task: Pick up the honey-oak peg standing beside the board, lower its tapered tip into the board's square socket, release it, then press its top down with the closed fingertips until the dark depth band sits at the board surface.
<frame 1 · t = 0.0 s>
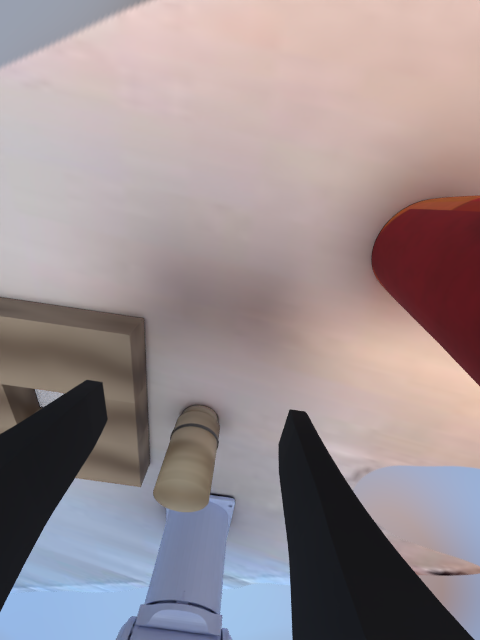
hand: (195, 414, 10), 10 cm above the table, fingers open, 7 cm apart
coffee cup: (419, 248, 17), on the table
board: (61, 391, 24), on the table
peg: (200, 418, 25), on the table
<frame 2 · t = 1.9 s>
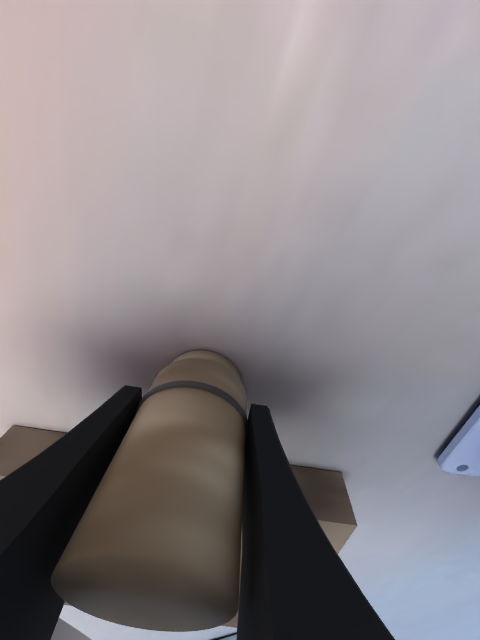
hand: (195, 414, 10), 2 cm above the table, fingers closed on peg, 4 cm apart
skincare box: (251, 638, 29), on the table
board: (175, 524, 18), on the table
peg: (204, 381, 12), on the table, touching gripper
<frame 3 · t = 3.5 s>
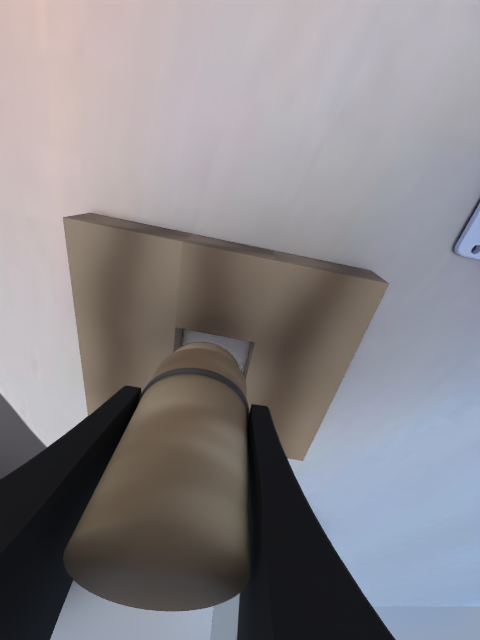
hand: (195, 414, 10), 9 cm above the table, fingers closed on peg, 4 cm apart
skincare box: (262, 515, 31), on the table
board: (215, 346, 20), on the table
peg: (203, 373, 12), point 7 cm above the table, touching gripper
when the fingers open (4 cm above the table, at t = 5.3 s): peg drops 1 cm, resting in board.
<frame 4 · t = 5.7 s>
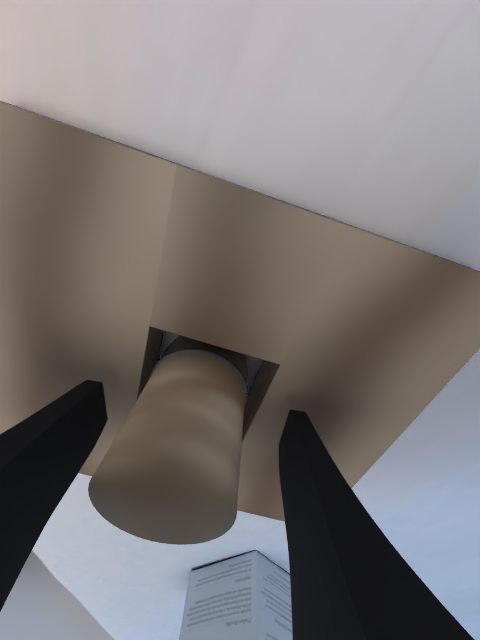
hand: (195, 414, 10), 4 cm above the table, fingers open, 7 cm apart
skincare box: (241, 568, 25), on the table
board: (209, 359, 13), on the table
peg: (208, 356, 13), resting in board
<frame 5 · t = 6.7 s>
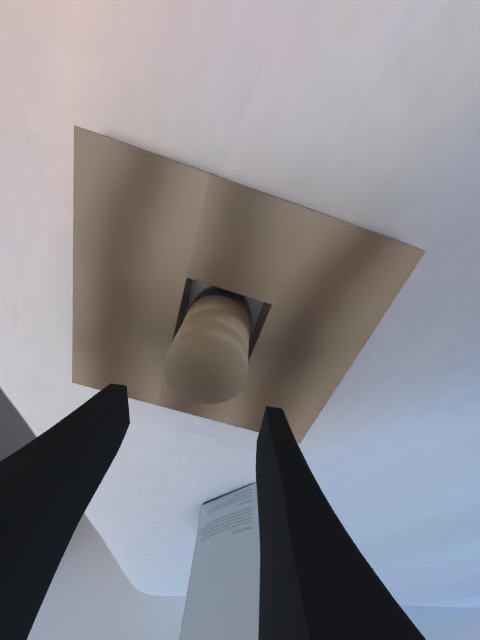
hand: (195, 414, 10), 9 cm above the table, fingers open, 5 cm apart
skincare box: (243, 503, 30), on the table
board: (222, 311, 18), on the table
peg: (221, 308, 18), resting in board
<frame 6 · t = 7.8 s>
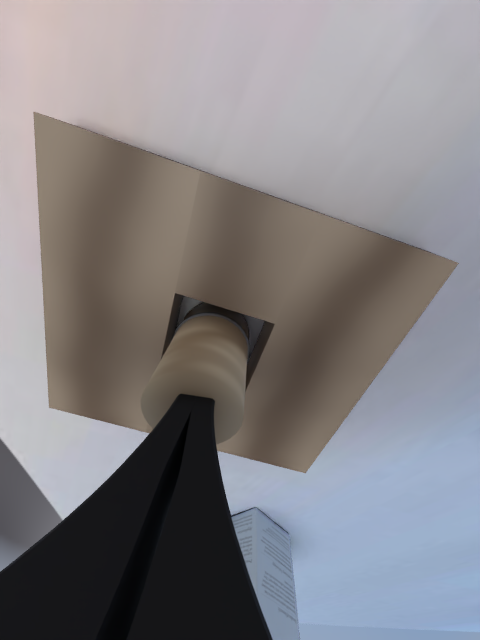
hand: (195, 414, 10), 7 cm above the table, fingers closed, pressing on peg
skincare box: (243, 527, 28), on the table
board: (218, 327, 16), on the table
peg: (217, 325, 16), resting in board, touching gripper
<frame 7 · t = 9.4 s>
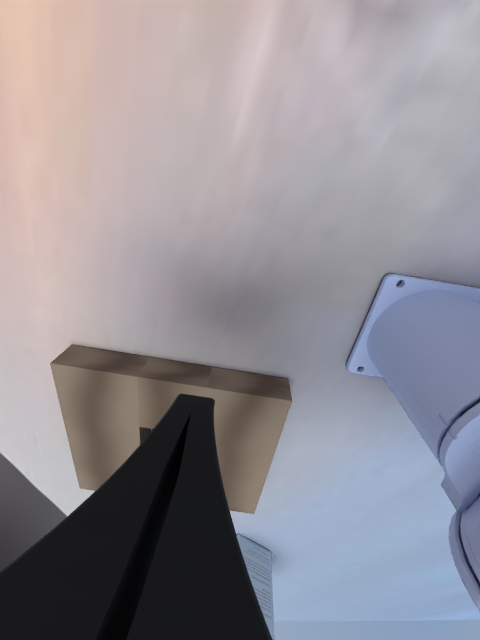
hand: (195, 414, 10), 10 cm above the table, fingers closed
skincare box: (235, 548, 36), on the table
board: (177, 427, 25), on the table
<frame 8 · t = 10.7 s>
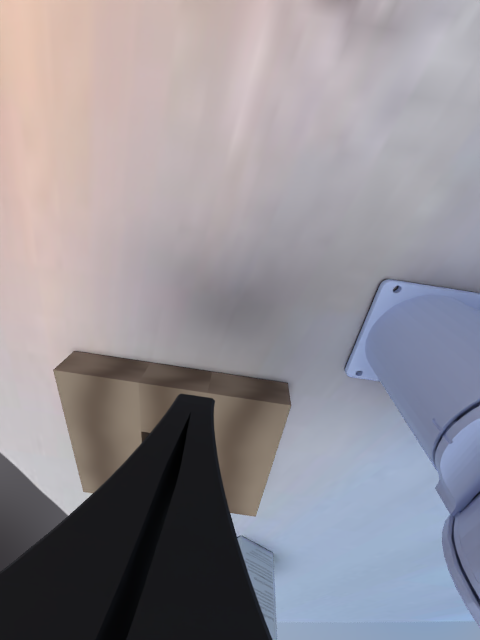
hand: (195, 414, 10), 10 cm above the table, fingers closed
skincare box: (237, 550, 36), on the table
board: (178, 431, 25), on the table
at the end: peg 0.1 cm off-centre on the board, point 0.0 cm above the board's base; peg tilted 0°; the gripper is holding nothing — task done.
